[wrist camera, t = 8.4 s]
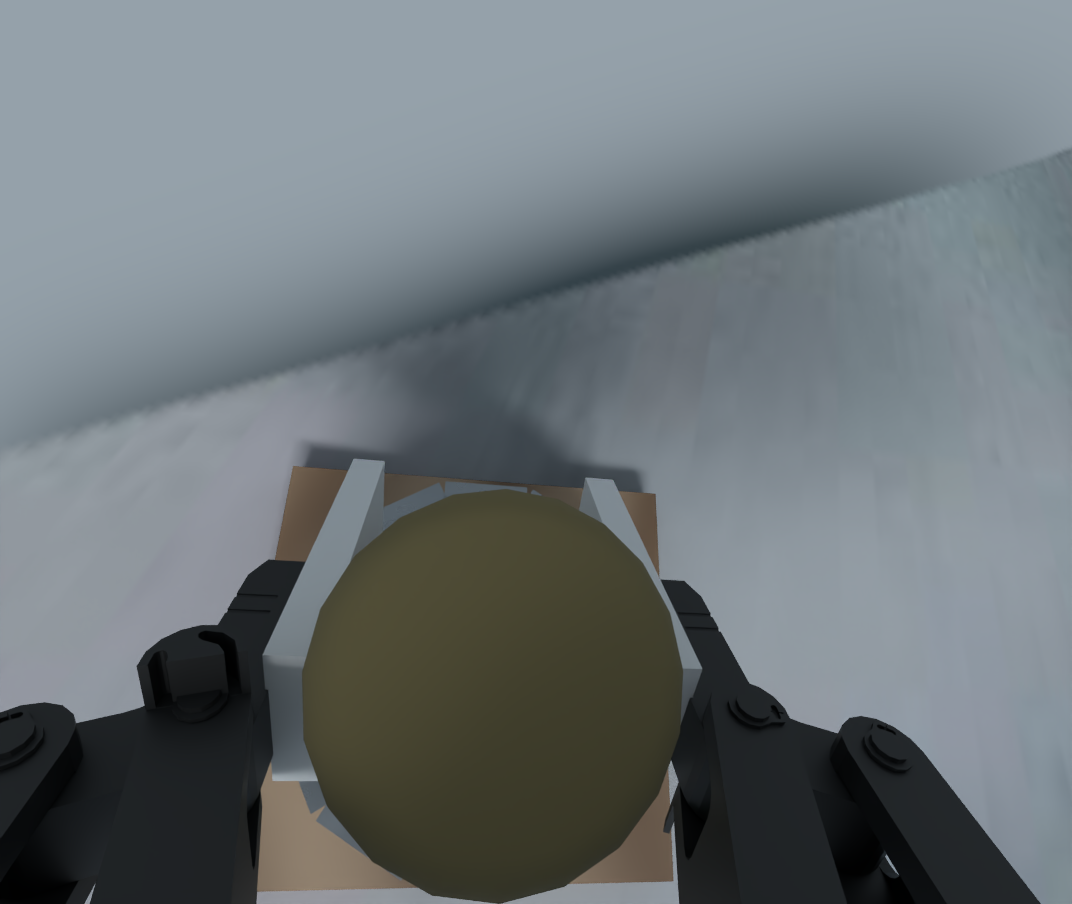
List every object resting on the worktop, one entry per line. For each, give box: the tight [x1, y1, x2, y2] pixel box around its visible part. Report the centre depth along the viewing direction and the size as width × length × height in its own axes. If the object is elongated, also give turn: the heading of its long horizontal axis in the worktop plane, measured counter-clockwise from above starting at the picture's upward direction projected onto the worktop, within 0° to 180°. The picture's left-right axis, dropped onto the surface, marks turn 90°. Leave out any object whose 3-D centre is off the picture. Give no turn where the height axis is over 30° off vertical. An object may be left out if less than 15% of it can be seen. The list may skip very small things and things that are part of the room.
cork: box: [302, 489, 683, 904], centre depth 11 cm, size 6×6×11 cm
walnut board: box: [257, 466, 673, 892], centre depth 20 cm, size 14×13×1 cm
